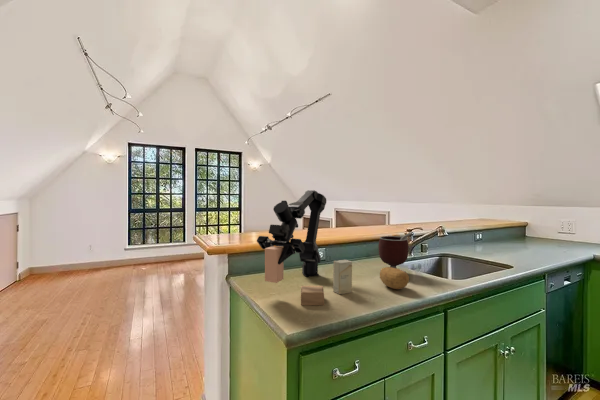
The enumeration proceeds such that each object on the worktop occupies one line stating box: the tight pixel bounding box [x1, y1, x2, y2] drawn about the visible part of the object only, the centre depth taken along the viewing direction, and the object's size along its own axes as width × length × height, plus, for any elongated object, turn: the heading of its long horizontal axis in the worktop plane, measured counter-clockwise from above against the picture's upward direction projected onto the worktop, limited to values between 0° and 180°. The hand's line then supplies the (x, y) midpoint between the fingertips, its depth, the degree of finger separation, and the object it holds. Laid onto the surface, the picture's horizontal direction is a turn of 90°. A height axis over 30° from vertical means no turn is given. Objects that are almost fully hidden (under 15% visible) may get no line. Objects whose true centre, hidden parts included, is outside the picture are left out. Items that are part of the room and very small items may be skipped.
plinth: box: [300, 285, 325, 306], centre depth 102 cm, size 8×8×4 cm
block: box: [264, 246, 285, 284], centre depth 105 cm, size 5×5×12 cm
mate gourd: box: [378, 232, 413, 273], centre depth 138 cm, size 16×14×20 cm
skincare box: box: [332, 259, 353, 295], centre depth 112 cm, size 6×4×12 cm
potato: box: [379, 266, 410, 290], centre depth 116 cm, size 10×14×8 cm
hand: (272, 263), depth 104 cm, fingers closed on block, 5 cm apart
